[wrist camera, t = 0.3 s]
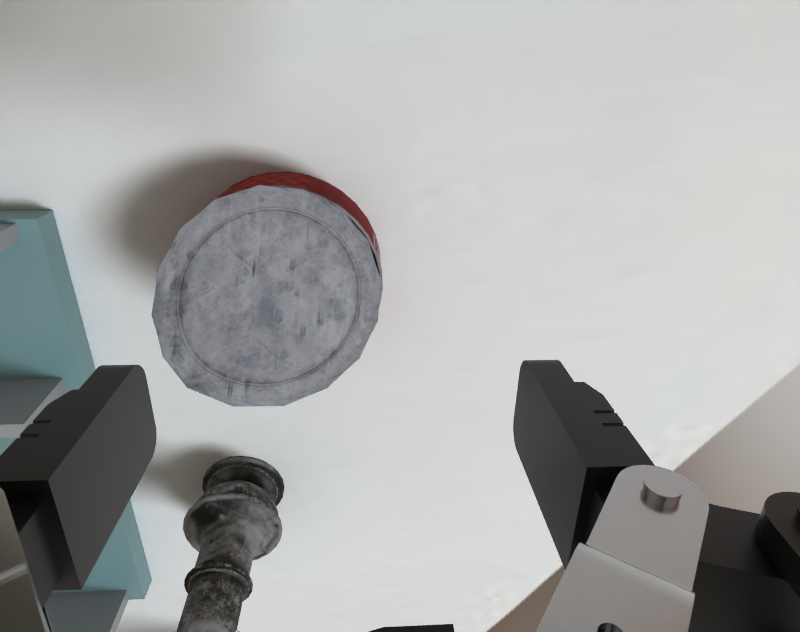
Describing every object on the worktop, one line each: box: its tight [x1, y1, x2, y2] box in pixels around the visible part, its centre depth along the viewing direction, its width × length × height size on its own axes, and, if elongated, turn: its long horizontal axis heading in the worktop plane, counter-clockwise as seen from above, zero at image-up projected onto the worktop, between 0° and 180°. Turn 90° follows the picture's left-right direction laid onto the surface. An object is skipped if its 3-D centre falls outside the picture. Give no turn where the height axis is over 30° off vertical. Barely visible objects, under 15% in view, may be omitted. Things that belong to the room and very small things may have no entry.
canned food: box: [152, 172, 383, 406], centre depth 27 cm, size 11×10×10 cm
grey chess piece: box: [177, 456, 284, 632], centre depth 31 cm, size 6×6×12 cm
